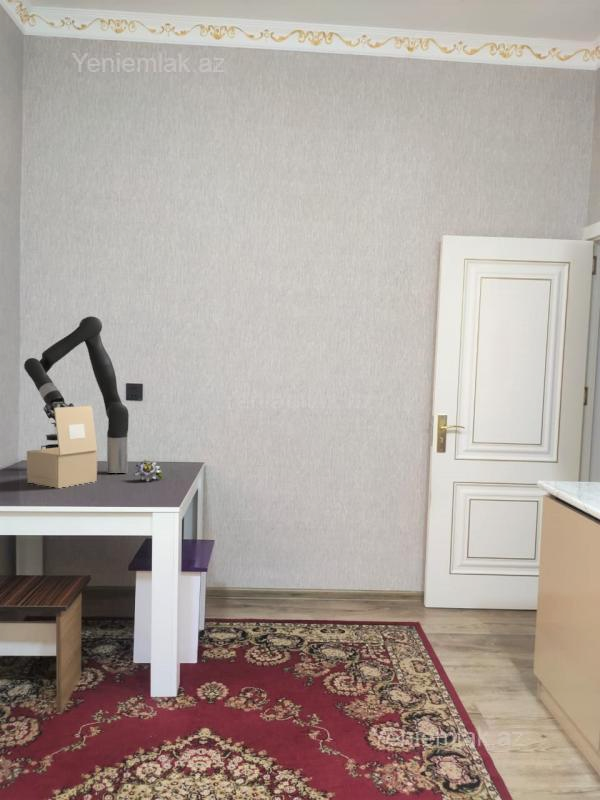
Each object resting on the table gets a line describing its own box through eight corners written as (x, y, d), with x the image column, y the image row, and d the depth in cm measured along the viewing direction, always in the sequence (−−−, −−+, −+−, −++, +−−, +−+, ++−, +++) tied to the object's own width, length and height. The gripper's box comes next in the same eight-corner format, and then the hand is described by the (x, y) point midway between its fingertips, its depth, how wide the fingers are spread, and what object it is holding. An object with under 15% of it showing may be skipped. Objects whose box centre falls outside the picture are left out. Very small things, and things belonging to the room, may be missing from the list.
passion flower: (147, 494, 288) (133, 473, 283) (141, 485, 297) (127, 465, 292) (168, 479, 291) (154, 458, 285) (162, 470, 300) (148, 451, 295)
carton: (25, 483, 278) (25, 451, 278) (66, 476, 297) (66, 446, 296) (57, 489, 268) (57, 455, 267) (97, 481, 286) (97, 450, 285)
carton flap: (53, 407, 269) (55, 407, 268) (90, 405, 285) (92, 405, 285) (59, 455, 268) (60, 454, 267) (96, 450, 284) (97, 450, 284)
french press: (67, 467, 322) (67, 421, 321) (66, 470, 313) (66, 423, 312) (42, 468, 319) (41, 421, 318) (40, 471, 310) (40, 423, 309)
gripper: (41, 390, 276) (59, 418, 271) (68, 389, 288) (86, 416, 283) (33, 402, 279) (50, 430, 274) (61, 400, 291) (78, 427, 286)
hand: (68, 423), depth 278 cm, fingers open, 8 cm apart
